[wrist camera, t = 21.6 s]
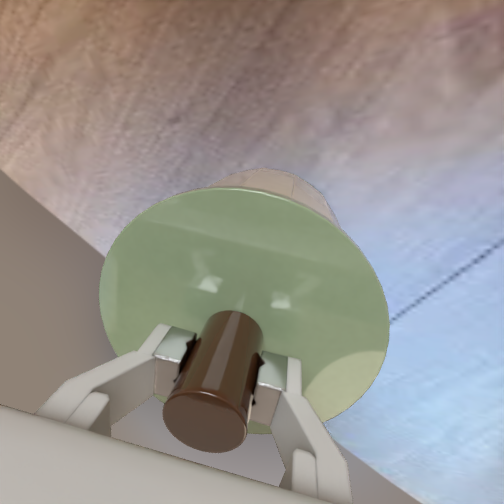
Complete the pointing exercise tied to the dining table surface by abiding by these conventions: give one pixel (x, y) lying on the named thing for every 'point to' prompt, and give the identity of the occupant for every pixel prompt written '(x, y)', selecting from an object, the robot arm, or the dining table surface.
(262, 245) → the lid
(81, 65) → the dining table surface
